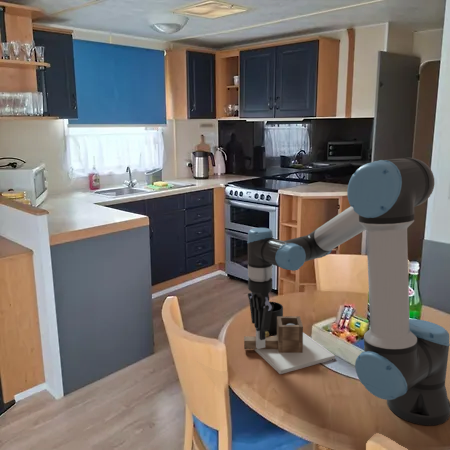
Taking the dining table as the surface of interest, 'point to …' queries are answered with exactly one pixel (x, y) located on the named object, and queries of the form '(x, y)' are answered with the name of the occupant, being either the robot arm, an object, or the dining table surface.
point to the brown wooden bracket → (282, 336)
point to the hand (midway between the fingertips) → (260, 347)
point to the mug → (275, 317)
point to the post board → (296, 356)
